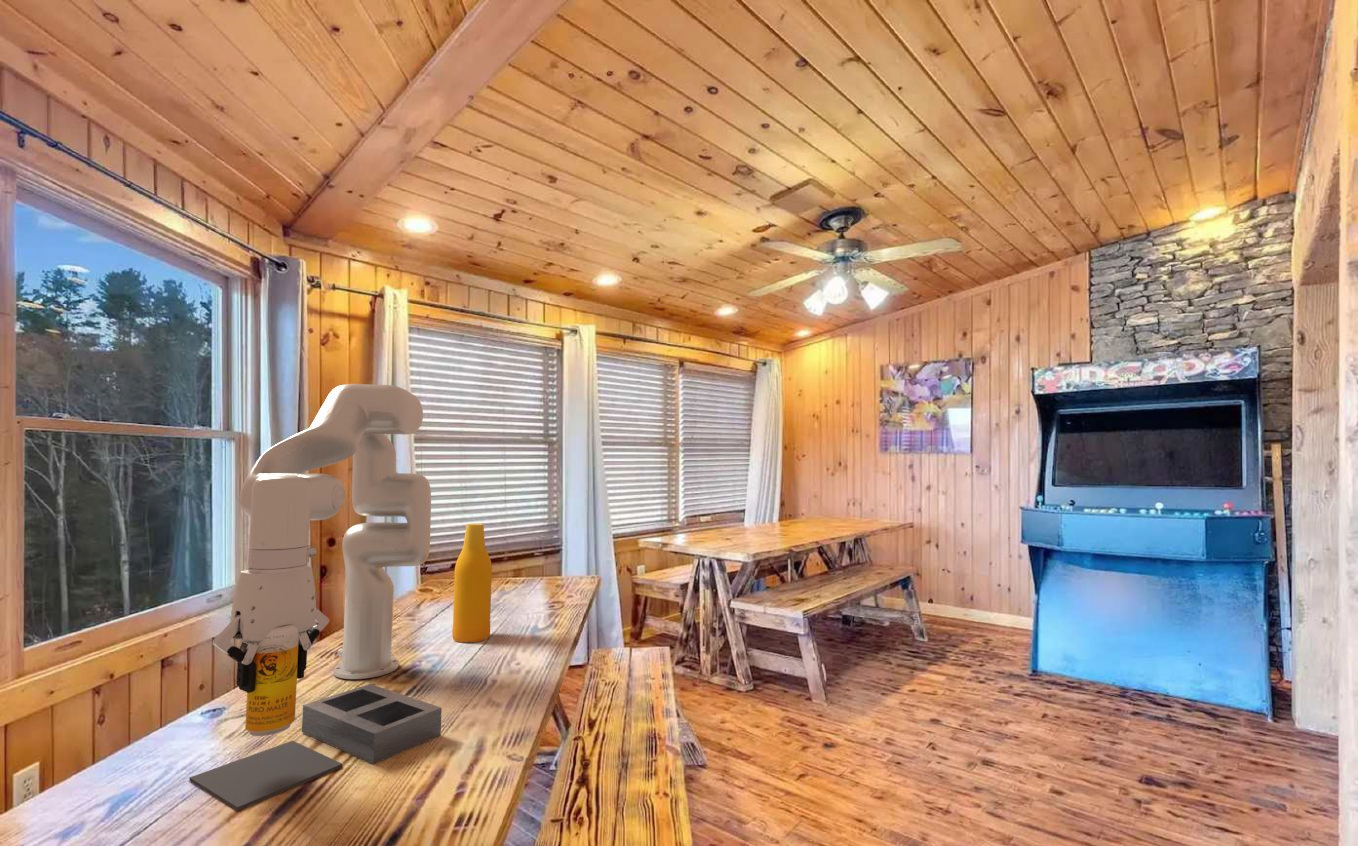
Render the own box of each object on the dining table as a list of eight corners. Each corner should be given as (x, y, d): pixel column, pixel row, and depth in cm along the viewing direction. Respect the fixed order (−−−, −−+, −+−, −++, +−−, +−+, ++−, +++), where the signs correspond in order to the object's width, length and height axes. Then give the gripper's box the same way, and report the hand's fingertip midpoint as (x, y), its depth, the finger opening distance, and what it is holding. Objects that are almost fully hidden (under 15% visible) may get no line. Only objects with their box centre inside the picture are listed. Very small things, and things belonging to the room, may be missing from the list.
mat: (189, 780, 89) (189, 777, 89) (292, 743, 101) (292, 740, 101) (237, 810, 82) (237, 806, 82) (342, 766, 94) (342, 763, 94)
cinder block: (301, 732, 105) (303, 704, 105) (369, 708, 115) (370, 683, 116) (373, 764, 95) (374, 733, 95) (440, 734, 105) (441, 707, 105)
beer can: (241, 740, 88) (247, 631, 89) (248, 724, 93) (253, 621, 94) (292, 732, 90) (297, 626, 91) (296, 717, 96) (300, 617, 97)
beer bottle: (483, 643, 157) (487, 526, 158) (446, 642, 157) (450, 525, 158) (494, 633, 166) (498, 522, 167) (459, 632, 166) (463, 522, 168)
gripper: (323, 550, 103) (317, 663, 101) (198, 564, 88) (190, 696, 87) (349, 554, 99) (344, 671, 98) (224, 569, 84) (216, 708, 83)
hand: (272, 682), depth 92 cm, fingers closed on beer can, 6 cm apart
